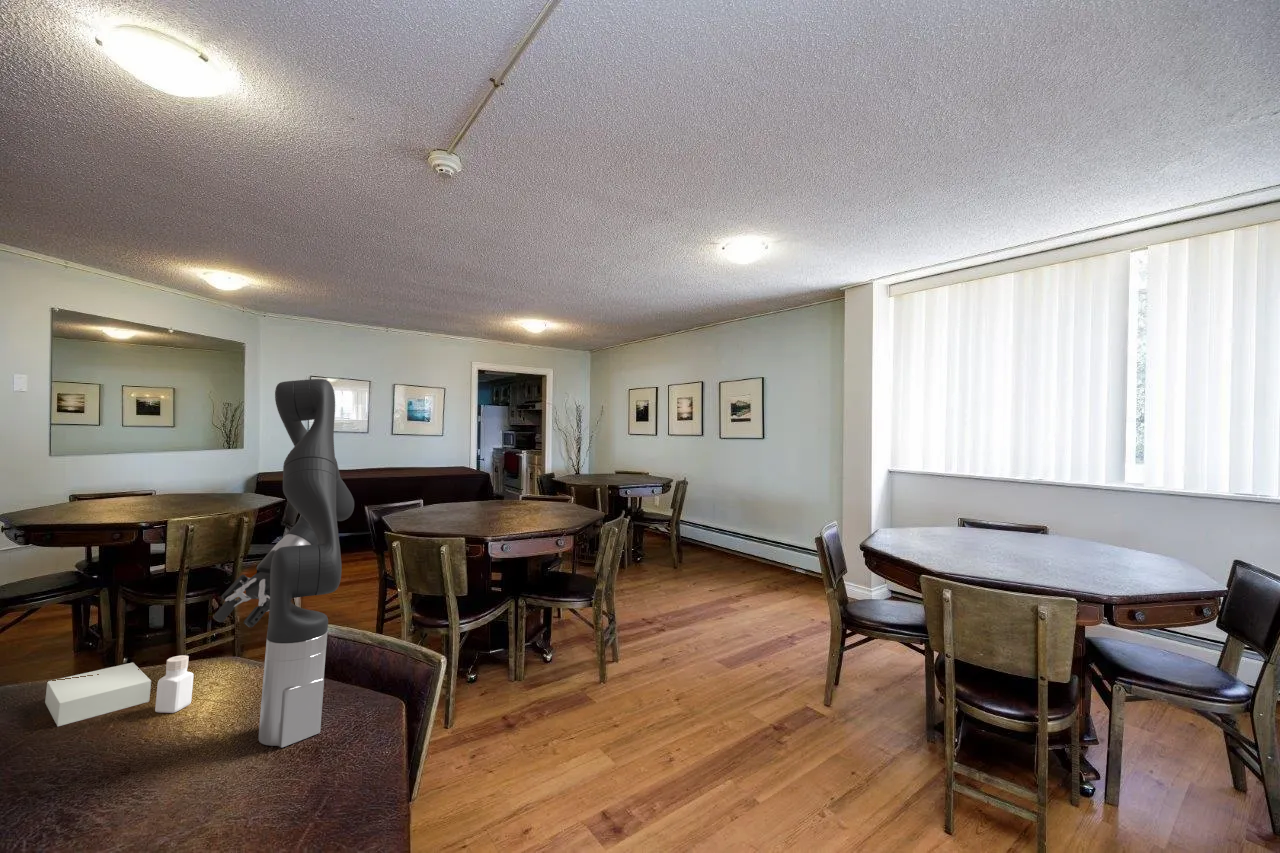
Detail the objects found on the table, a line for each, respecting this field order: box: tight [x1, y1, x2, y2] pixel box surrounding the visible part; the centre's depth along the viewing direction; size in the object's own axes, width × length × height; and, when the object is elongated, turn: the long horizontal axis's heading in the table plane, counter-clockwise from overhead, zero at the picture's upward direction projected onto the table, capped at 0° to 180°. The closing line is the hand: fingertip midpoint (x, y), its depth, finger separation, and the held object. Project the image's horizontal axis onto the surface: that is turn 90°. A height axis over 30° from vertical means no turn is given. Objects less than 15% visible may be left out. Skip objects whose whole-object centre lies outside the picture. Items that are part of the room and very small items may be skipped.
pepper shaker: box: [154, 654, 195, 714], centre depth 98 cm, size 4×4×10 cm
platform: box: [44, 662, 152, 727], centre depth 99 cm, size 14×12×4 cm
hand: (232, 622), depth 108 cm, fingers open, 8 cm apart
